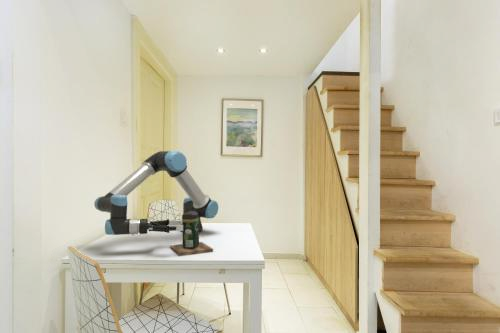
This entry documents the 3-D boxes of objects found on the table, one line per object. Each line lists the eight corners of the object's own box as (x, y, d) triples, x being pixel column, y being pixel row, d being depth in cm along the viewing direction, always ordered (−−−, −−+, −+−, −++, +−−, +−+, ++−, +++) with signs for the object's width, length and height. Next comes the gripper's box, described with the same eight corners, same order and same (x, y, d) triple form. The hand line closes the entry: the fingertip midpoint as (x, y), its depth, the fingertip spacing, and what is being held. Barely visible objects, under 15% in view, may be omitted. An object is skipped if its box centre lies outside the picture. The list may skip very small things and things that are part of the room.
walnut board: (201, 244, 171) (201, 241, 171) (212, 251, 157) (213, 248, 157) (170, 248, 162) (170, 245, 162) (179, 256, 148) (179, 253, 148)
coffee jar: (186, 243, 166) (186, 210, 166) (200, 244, 164) (200, 210, 164) (180, 248, 156) (179, 212, 156) (194, 249, 155) (194, 213, 155)
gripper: (140, 228, 164) (180, 227, 170) (136, 239, 140) (183, 237, 146) (141, 215, 164) (181, 214, 170) (137, 223, 140) (183, 222, 146)
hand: (182, 225), depth 158 cm, fingers open, 13 cm apart
